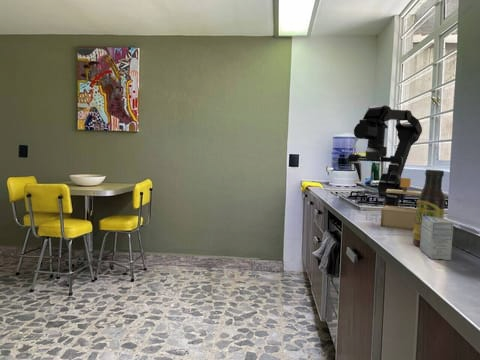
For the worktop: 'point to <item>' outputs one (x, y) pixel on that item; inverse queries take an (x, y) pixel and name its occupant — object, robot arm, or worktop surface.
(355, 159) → the robot arm
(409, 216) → the carton
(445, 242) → the medicine box
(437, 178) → the sauce bottle
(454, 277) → the worktop surface
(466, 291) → the worktop surface
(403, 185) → the pull drawer
